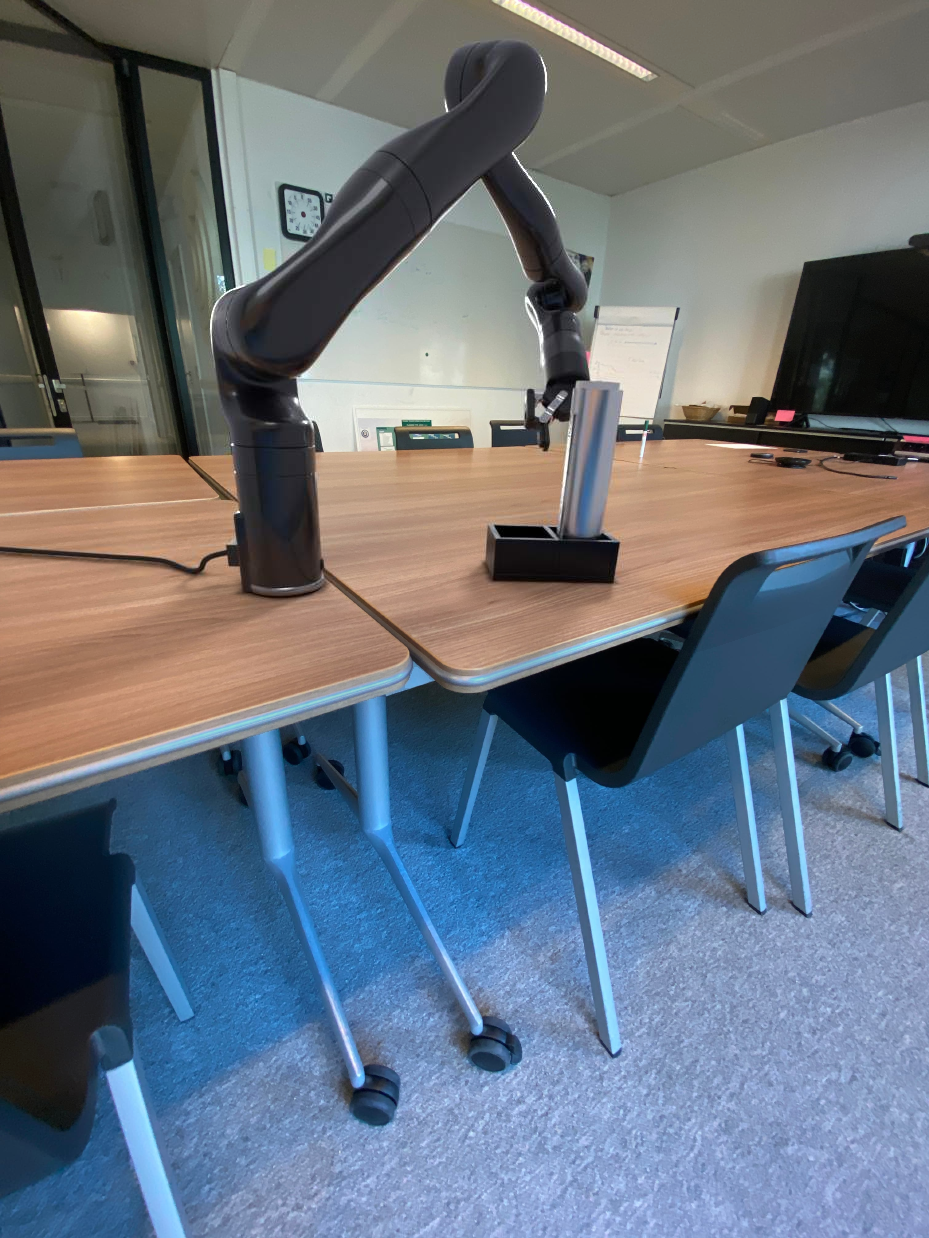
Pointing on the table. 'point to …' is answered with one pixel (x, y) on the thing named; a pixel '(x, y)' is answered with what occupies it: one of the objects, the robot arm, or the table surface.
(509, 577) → the open box with compartments
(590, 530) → the metallic silver cylinder
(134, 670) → the table surface
